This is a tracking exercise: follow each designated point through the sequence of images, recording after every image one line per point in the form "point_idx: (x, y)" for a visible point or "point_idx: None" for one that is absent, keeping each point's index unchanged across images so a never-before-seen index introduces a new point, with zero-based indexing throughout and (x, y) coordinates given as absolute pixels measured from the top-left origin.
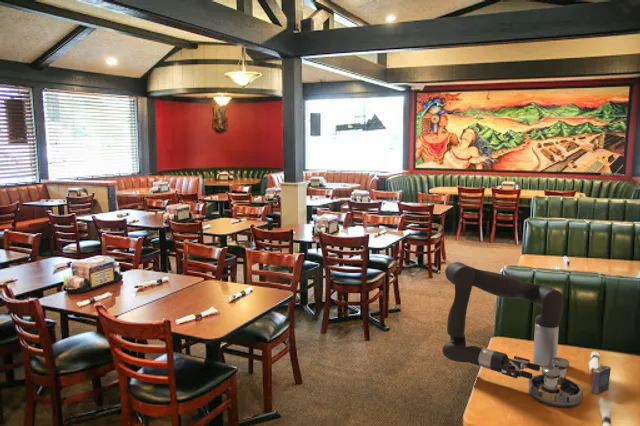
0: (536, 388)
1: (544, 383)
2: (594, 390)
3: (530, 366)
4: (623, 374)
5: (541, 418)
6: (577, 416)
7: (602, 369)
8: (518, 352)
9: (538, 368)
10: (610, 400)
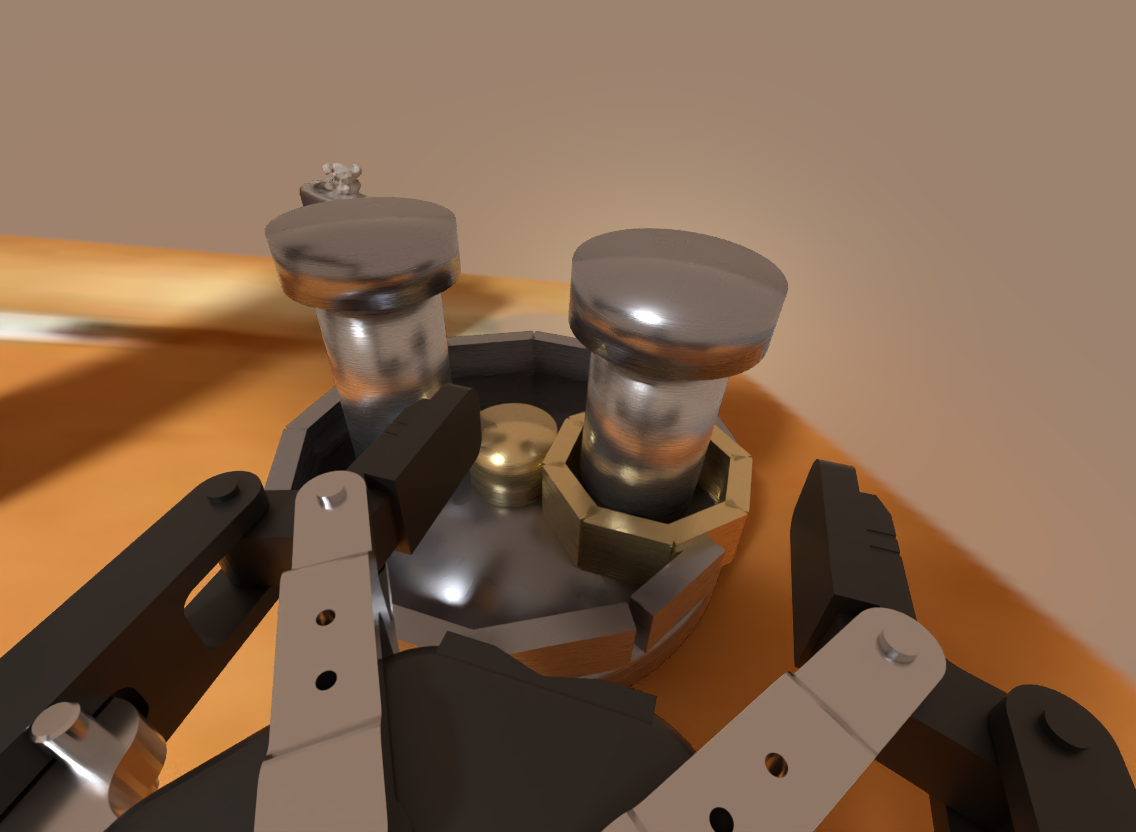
0: (667, 575)
1: (682, 455)
2: None
3: (416, 506)
4: (180, 268)
5: (1003, 606)
6: (758, 421)
7: (359, 196)
8: None
9: (475, 422)
10: (480, 317)
